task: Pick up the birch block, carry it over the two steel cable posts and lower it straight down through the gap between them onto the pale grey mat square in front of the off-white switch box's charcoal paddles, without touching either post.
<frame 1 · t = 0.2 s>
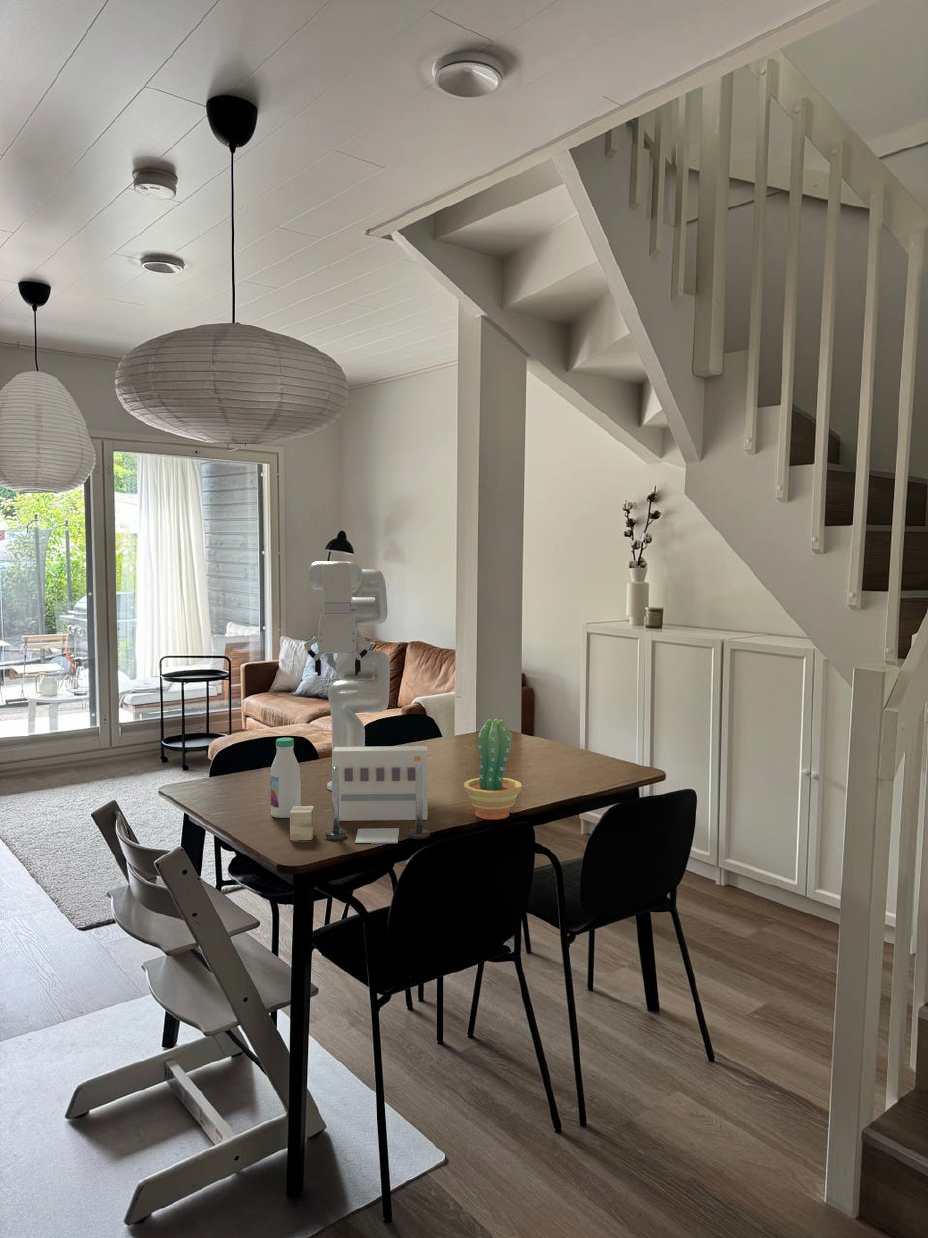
hand: (338, 675, 224), 36 cm above the table, tool pointing down, fingers open, 9 cm apart
birch block: (302, 838, 206), on the table
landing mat: (377, 836, 207), on the table
switch box: (381, 817, 223), on the table
potted cactus: (492, 815, 225), on the table
milk bottle: (285, 815, 225), on the table
cable post 2: (419, 836, 208), on the table
cable post 1: (335, 837, 207), on the table
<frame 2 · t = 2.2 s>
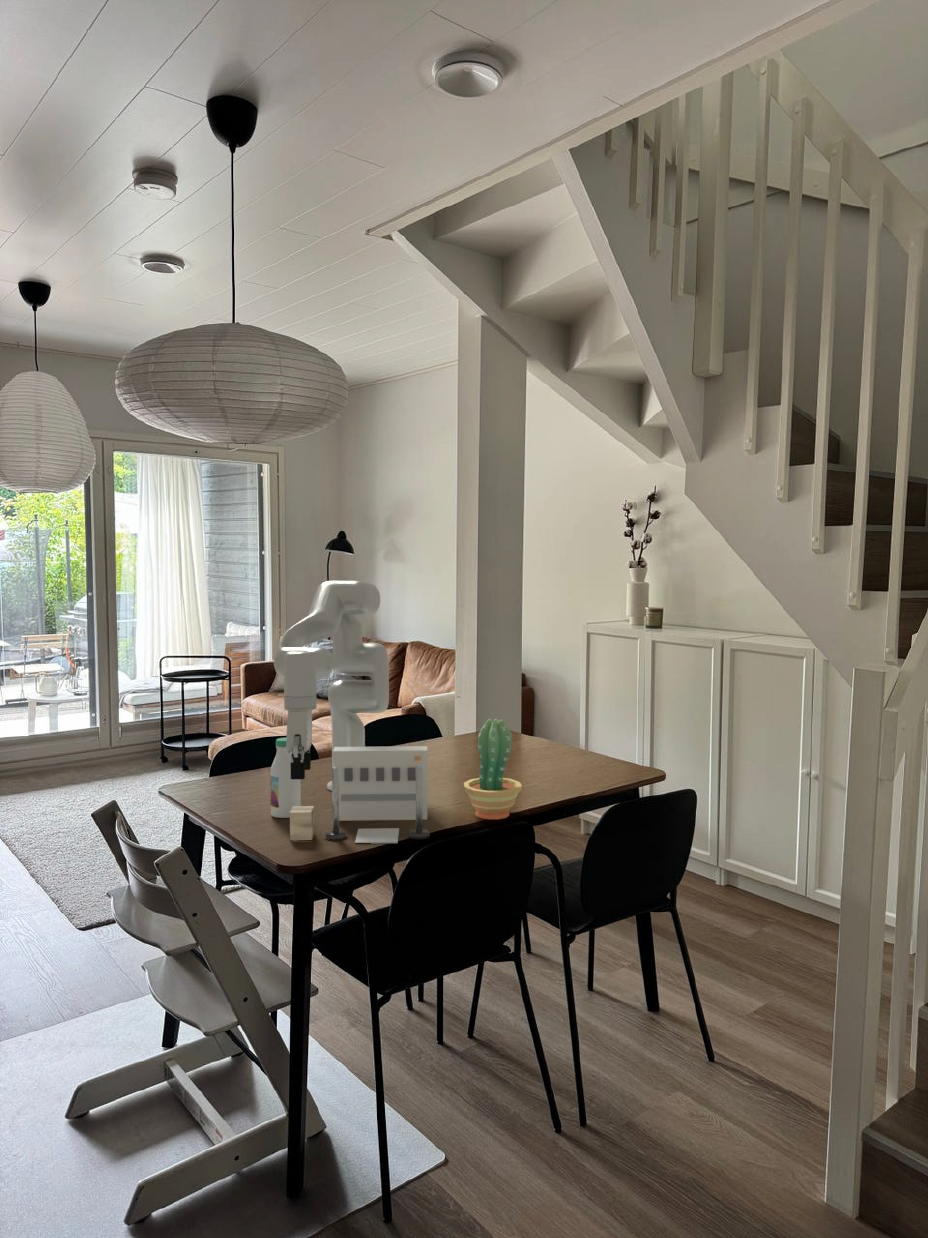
hand: (300, 774, 205), 16 cm above the table, tool pointing down, fingers open, 9 cm apart
nothing on the table moved.
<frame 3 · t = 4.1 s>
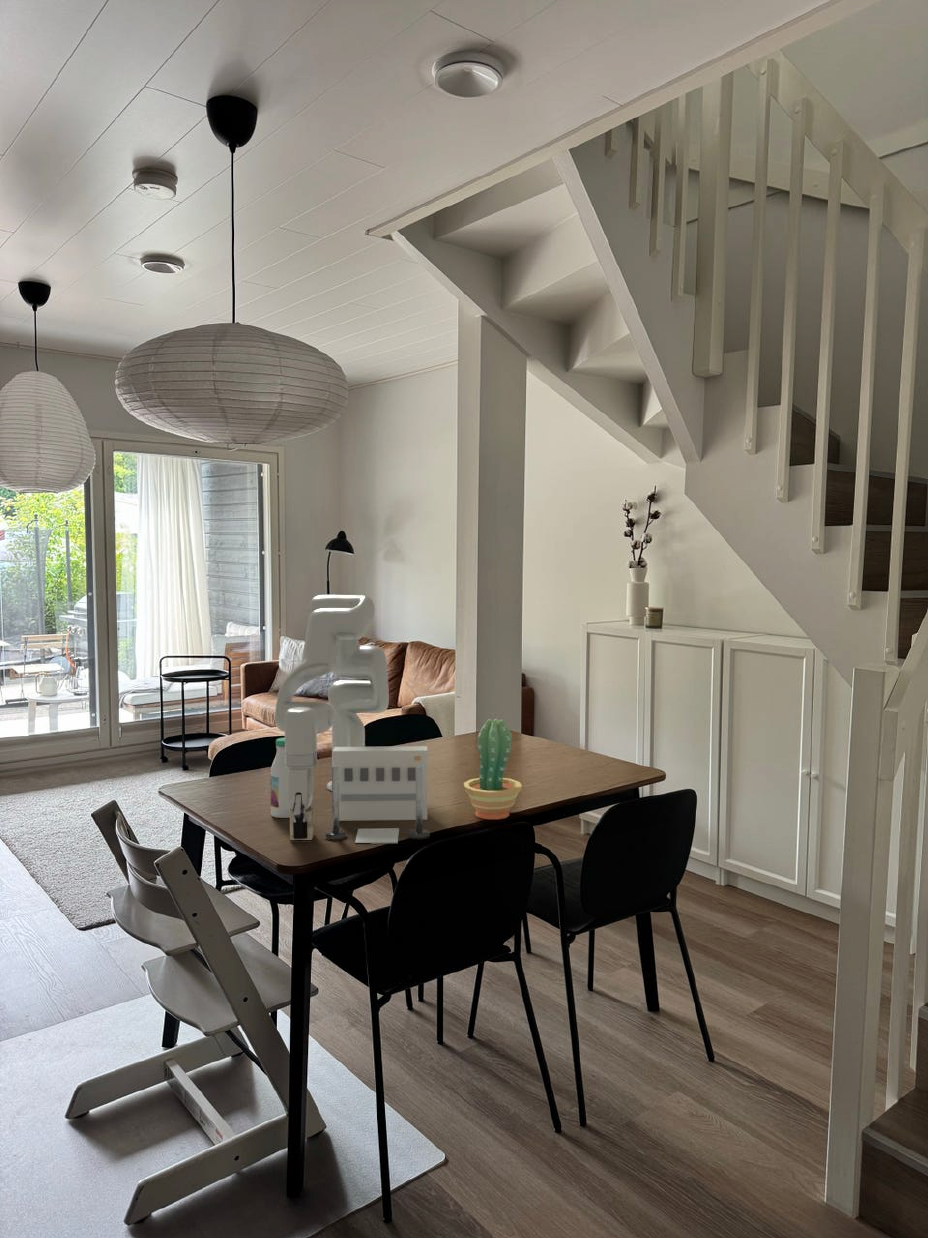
hand: (302, 833, 206), 1 cm above the table, tool pointing down, fingers closed on birch block, 5 cm apart
birch block: (302, 837, 206), on the table, touching gripper
everything else where it was.
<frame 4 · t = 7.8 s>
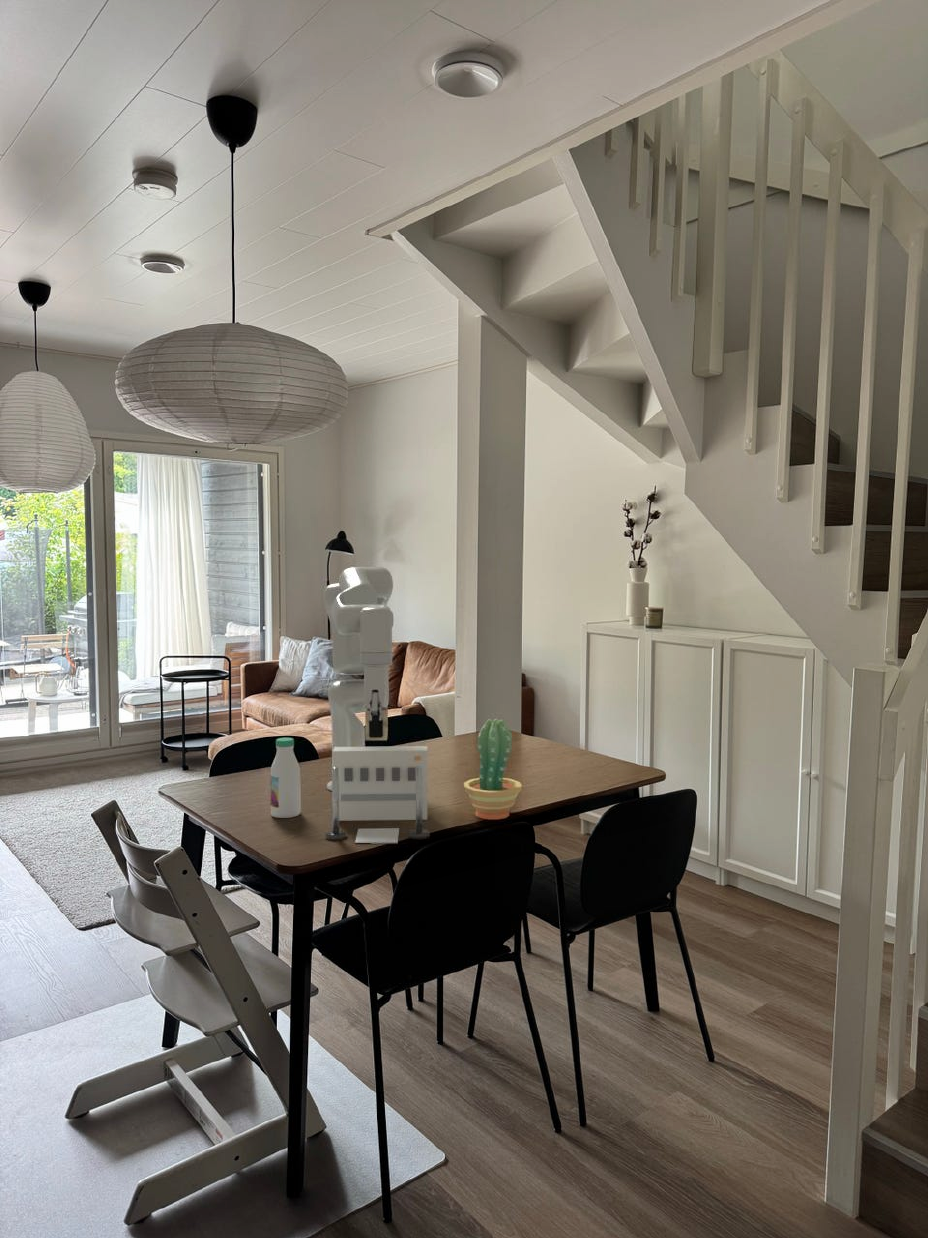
hand: (376, 734, 205), 25 cm above the table, tool pointing down, fingers closed on birch block, 5 cm apart
birch block: (376, 738, 205), point 24 cm above the table, touching gripper
everything else where it was.
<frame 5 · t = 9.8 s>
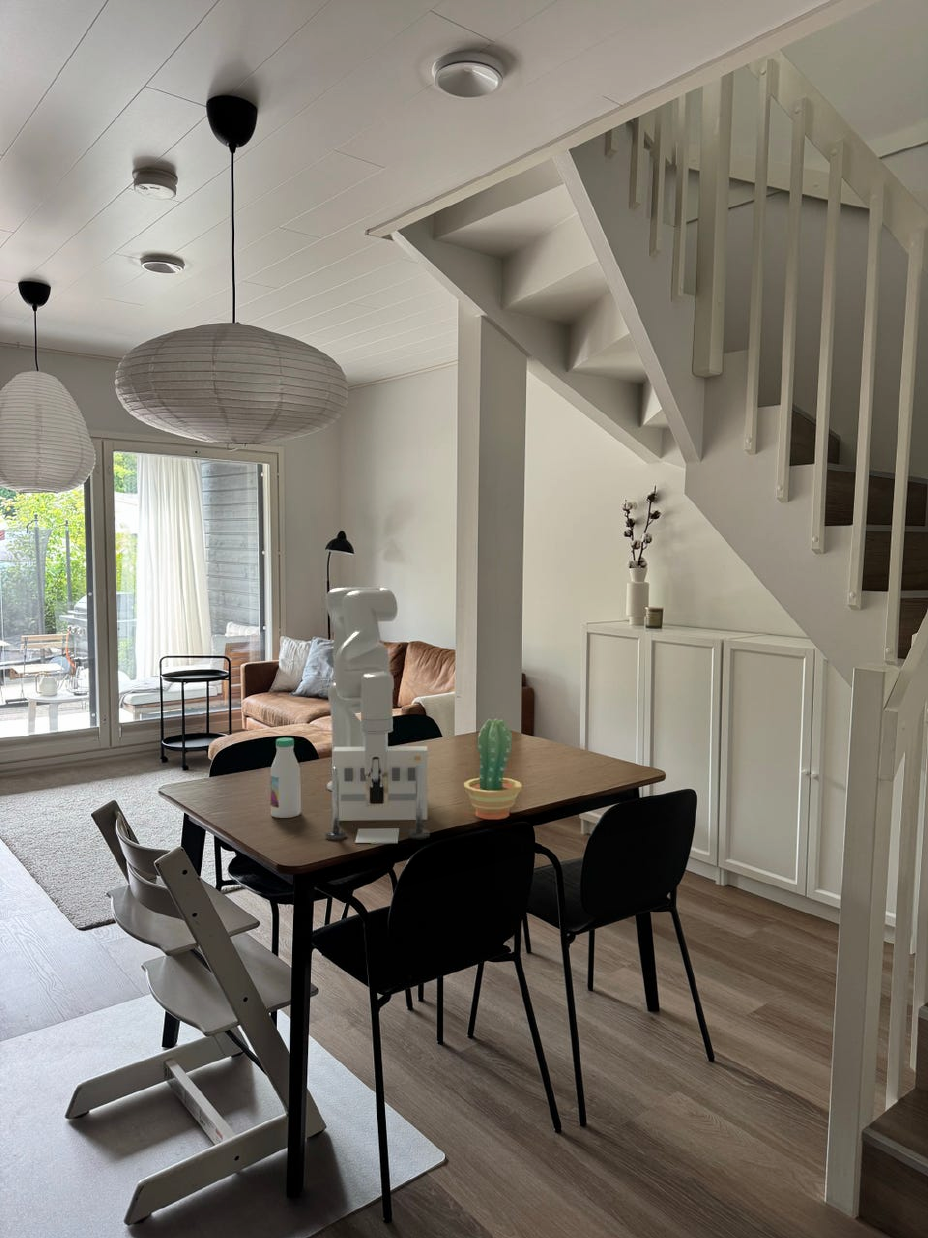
hand: (377, 799, 206), 9 cm above the table, tool pointing down, fingers closed on birch block, 5 cm apart
birch block: (377, 803, 206), point 8 cm above the table, touching gripper
everything else where it was.
when the fingers open (3 cm above the table, at t = 11.5 s): birch block drops 1 cm, resting on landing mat.
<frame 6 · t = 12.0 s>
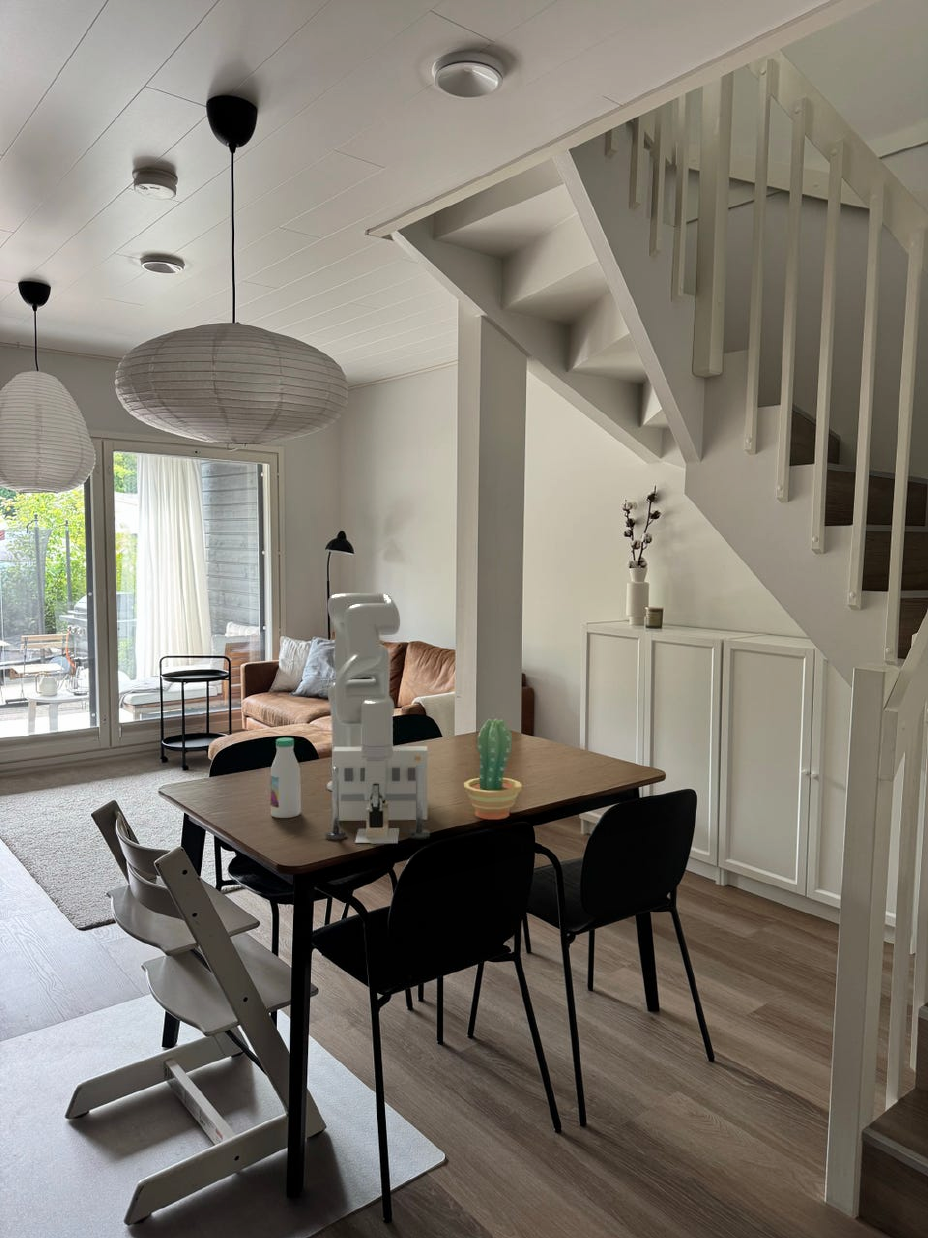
hand: (377, 821, 207), 4 cm above the table, tool pointing down, fingers open, 9 cm apart
birch block: (377, 835, 207), resting on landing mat
everything else where it was.
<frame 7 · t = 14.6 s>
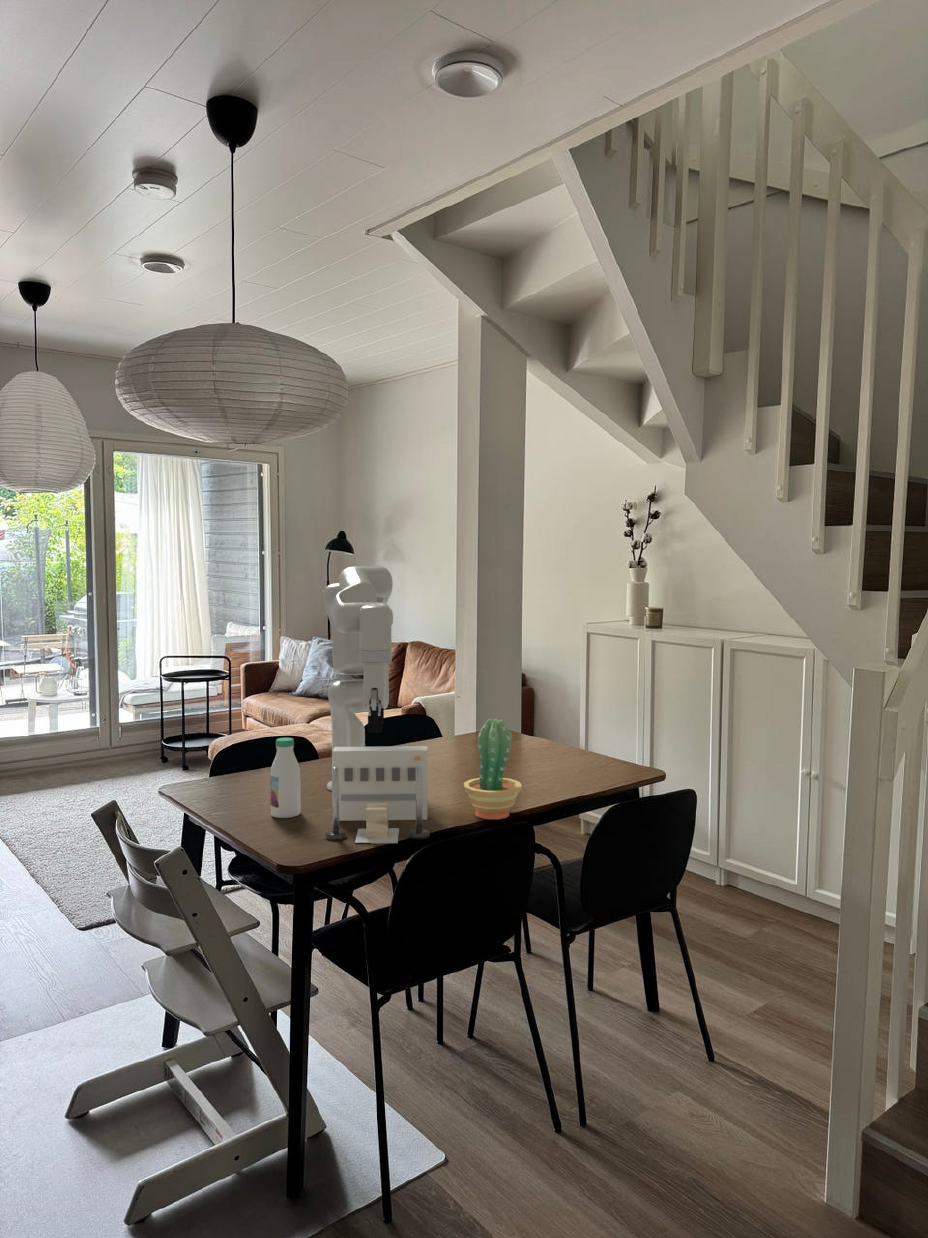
hand: (376, 728, 206), 26 cm above the table, tool pointing down, fingers open, 9 cm apart
nothing on the table moved.
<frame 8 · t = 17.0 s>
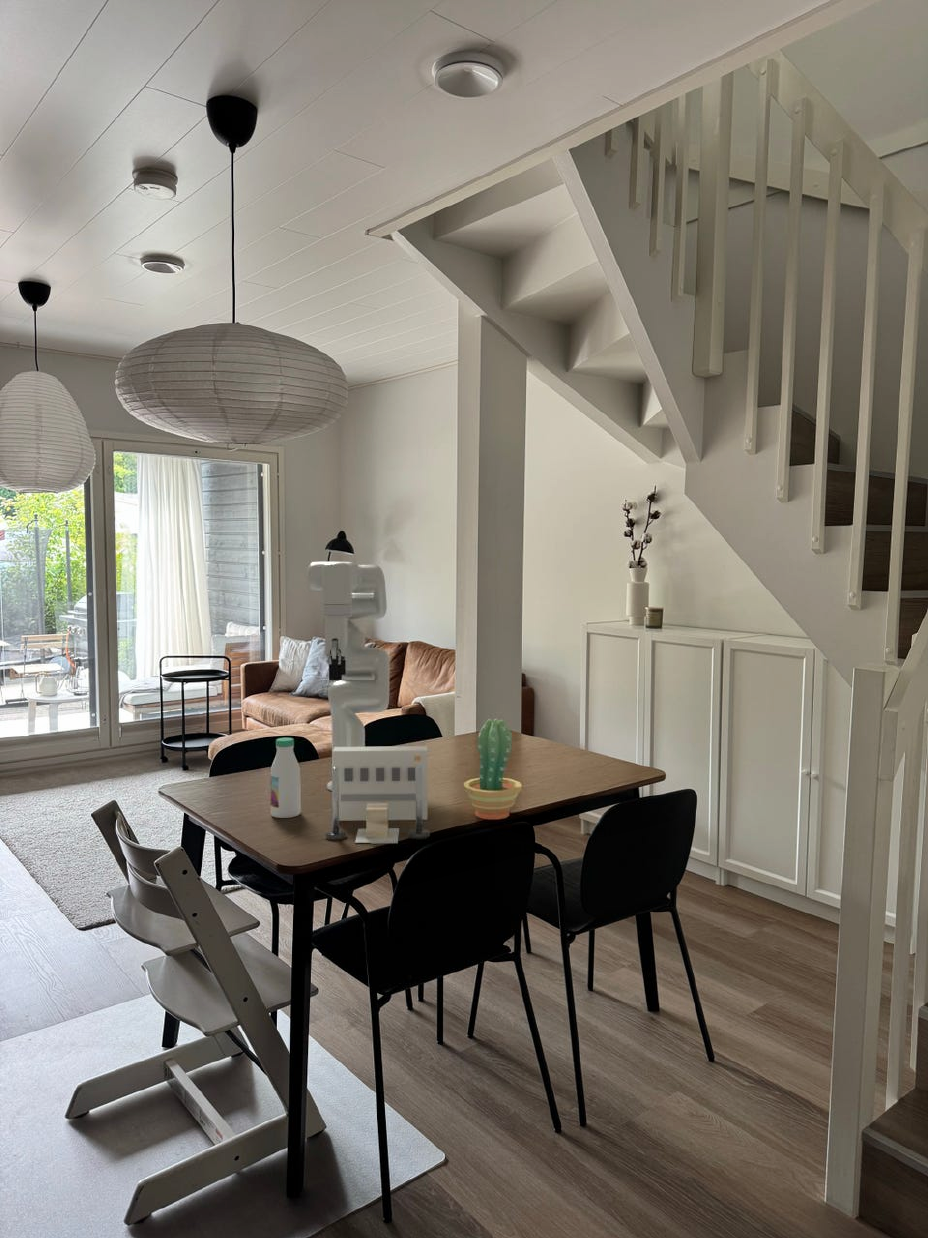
hand: (337, 677, 221), 36 cm above the table, tool pointing down, fingers open, 9 cm apart
nothing on the table moved.
at the end: birch block 0.0 cm off-centre on the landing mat, point 0.4 cm above the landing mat's base; cable post 1 moved 0.0 cm from its start; cable post 2 moved 0.0 cm from its start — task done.
